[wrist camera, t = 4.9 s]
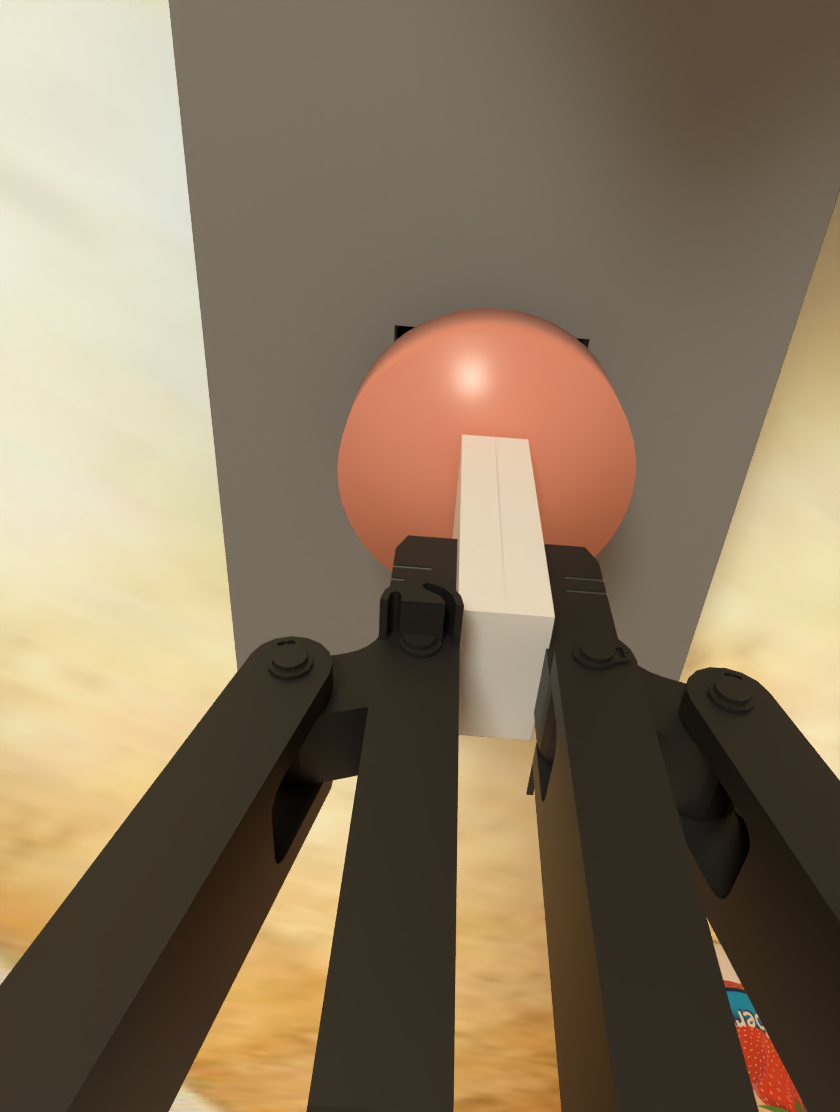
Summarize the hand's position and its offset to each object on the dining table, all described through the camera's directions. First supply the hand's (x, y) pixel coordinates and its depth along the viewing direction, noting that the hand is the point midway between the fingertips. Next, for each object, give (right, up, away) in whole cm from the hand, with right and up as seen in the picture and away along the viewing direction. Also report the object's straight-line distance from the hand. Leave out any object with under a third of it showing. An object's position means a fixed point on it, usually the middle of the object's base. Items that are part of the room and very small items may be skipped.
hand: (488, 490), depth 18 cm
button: (0, +5, +7) cm, 8 cm away
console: (0, +5, +8) cm, 10 cm away
